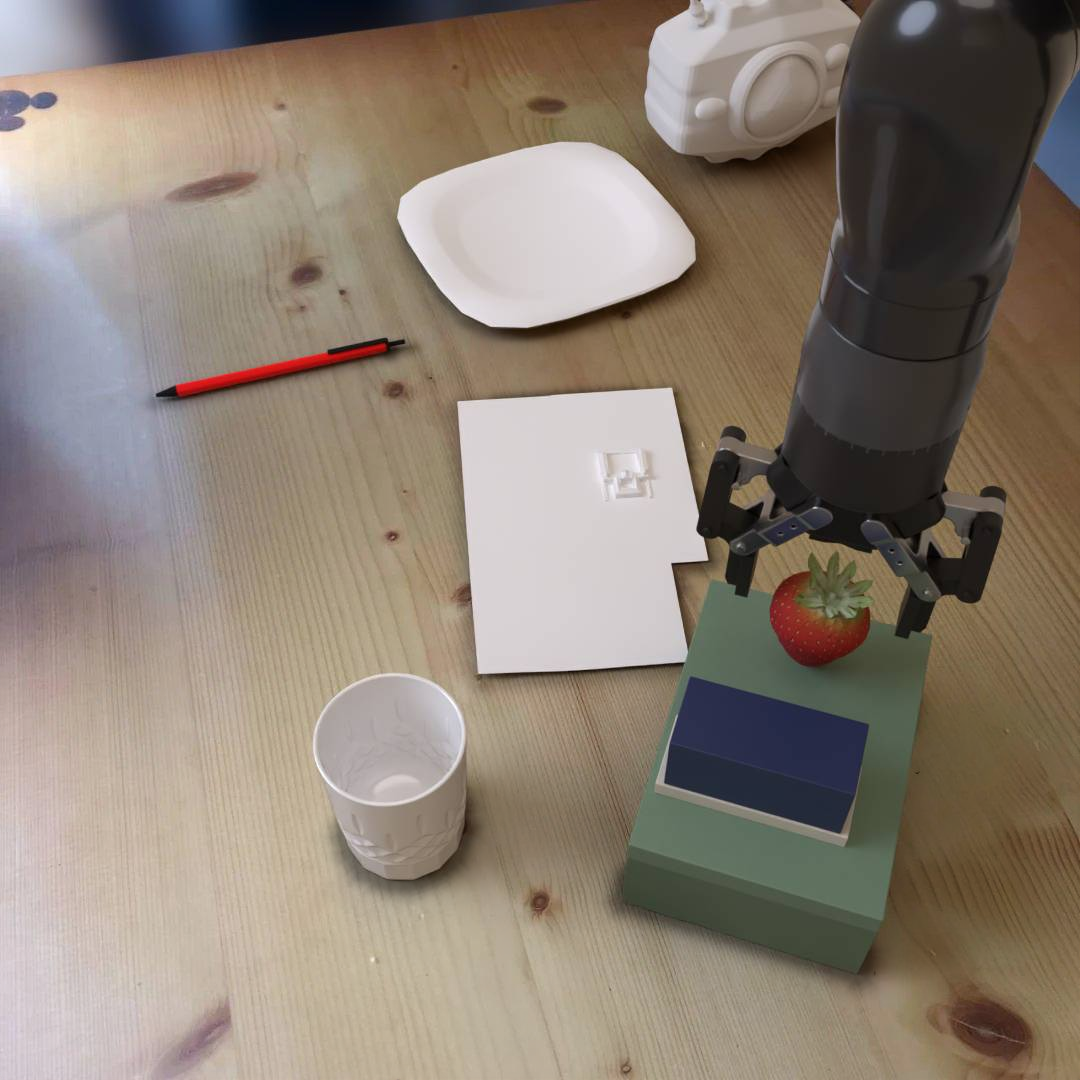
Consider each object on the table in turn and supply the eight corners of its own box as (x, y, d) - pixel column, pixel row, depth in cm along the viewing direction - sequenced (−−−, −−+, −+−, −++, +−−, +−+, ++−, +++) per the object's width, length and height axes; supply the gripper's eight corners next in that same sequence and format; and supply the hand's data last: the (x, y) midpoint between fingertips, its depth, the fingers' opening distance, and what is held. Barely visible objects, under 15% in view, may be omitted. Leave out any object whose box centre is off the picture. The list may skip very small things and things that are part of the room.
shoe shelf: (906, 700, 80) (932, 634, 75) (857, 974, 69) (883, 921, 64) (699, 645, 83) (710, 578, 77) (621, 901, 72) (628, 844, 66)
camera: (627, 141, 117) (638, -31, 105) (800, 96, 122) (829, -74, 110) (685, 210, 111) (702, 35, 99) (864, 159, 116) (903, -13, 103)
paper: (441, 404, 96) (440, 394, 95) (669, 381, 97) (670, 370, 97) (479, 689, 80) (479, 679, 79) (750, 656, 82) (752, 646, 81)
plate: (724, 281, 105) (727, 264, 104) (479, 362, 99) (478, 345, 98) (599, 141, 117) (600, 124, 116) (374, 205, 111) (372, 188, 110)
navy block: (858, 774, 69) (877, 724, 65) (844, 847, 66) (863, 799, 62) (675, 723, 71) (683, 671, 67) (654, 792, 68) (660, 742, 64)
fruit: (852, 707, 71) (882, 622, 65) (754, 691, 72) (774, 605, 66) (857, 632, 75) (885, 544, 68) (763, 617, 75) (783, 529, 69)
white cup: (364, 914, 71) (343, 830, 64) (317, 796, 76) (292, 705, 68) (496, 857, 73) (491, 768, 66) (442, 746, 78) (431, 651, 70)
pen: (406, 349, 100) (405, 338, 99) (155, 404, 96) (152, 393, 95) (403, 341, 100) (402, 330, 99) (154, 396, 97) (150, 385, 96)
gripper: (704, 405, 56) (675, 625, 69) (1043, 482, 53) (949, 697, 66) (742, 297, 61) (709, 521, 73) (1058, 362, 58) (967, 584, 70)
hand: (823, 604), depth 69 cm, fingers open, 8 cm apart
